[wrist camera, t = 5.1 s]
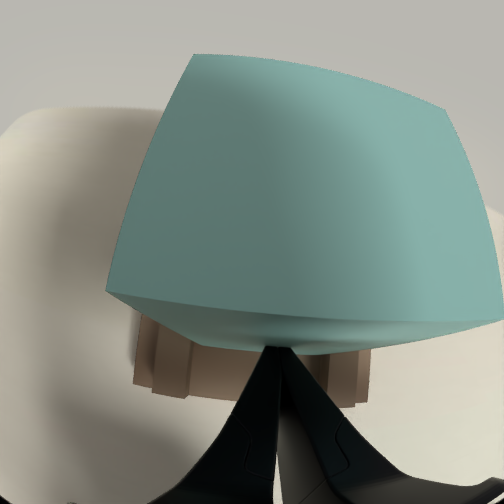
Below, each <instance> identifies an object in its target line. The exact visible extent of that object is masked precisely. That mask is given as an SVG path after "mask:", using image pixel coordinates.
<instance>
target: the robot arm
mask: <svg viewBox="0 0 504 504" xmlns="http://www.w3.org/2000/svg"><path fill="white" fill-rule="evenodd" d="M276 454H277V456H278V465H279V474H280V483H281V492H282V500H283V504H487V503H489V502H490V501H492V500H493V499H495V498H496V497H498V496H499V495H501V494H502V493H503V492H504V480H503V479H499V478H495V477H491V478H489V479H487V480H485V481H484V482H482V483H480V484H478V485H474V486H458V485H451V484H445V483H439V482H434V481H429V480H424V479H419V478H415V477H412V476H409V475H407V474H405V473H403V472H401V471H400V470H399V469H397V468H396V467H395V466H394V465H393V464H391V463H390V462H389V461H388V460H387V459H386V458H385V457H384V456H383V455H382V454H380V453H379V452H378V451H377V450H376V449H375V448H374V447H373V446H372V445H371V444H370V443H369V442H368V441H367V440H366V439H365V438H364V437H363V436H362V435H361V434H360V433H359V432H358V431H357V430H356V428H355V427H354V426H353V425H352V424H351V423H350V421H349V420H348V419H347V418H346V417H344V414H343V413H342V412H341V411H340V409H339V408H338V407H337V406H336V404H335V403H334V402H333V401H332V399H331V398H330V397H329V396H328V394H327V393H326V392H325V391H324V389H323V388H322V387H321V386H320V384H319V383H318V382H317V381H316V379H315V378H314V377H313V375H312V374H311V373H310V372H309V370H308V369H307V368H306V367H305V365H304V364H303V363H302V361H301V360H300V359H299V358H298V356H297V355H296V354H295V352H294V351H293V350H292V349H291V348H290V347H277V346H265V347H264V349H263V351H262V353H261V355H260V357H259V359H258V361H257V363H256V365H255V367H254V369H253V371H252V373H251V375H250V377H249V379H248V381H247V383H246V385H245V387H244V389H243V391H242V393H241V395H240V397H239V399H238V401H237V403H236V405H235V406H234V408H233V410H232V412H231V415H230V416H229V417H228V419H227V421H226V423H225V425H224V426H223V428H222V430H221V431H220V433H219V435H218V436H217V438H216V439H215V440H214V442H213V443H212V444H211V446H210V447H209V448H208V450H207V451H206V452H205V453H204V455H203V456H202V457H201V458H200V459H199V461H198V462H197V463H196V464H195V465H194V466H193V468H192V469H191V470H190V471H189V472H188V473H187V474H186V476H185V477H184V478H183V479H182V480H181V481H180V482H179V483H178V484H176V485H175V486H174V487H173V488H172V489H170V490H169V491H167V492H165V493H164V494H162V495H161V496H159V497H157V498H156V499H154V500H152V501H151V502H149V503H147V504H273V485H274V482H273V481H274V476H275V465H276ZM0 504H12V503H10V502H9V501H8V500H6V499H5V498H3V497H2V496H1V495H0ZM67 504H76V503H72V502H70V503H67ZM495 504H504V498H503V499H501V500H500V501H498V502H497V503H495Z"/></svg>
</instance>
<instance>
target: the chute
mask: <svg viewBox="0 0 504 504" xmlns="http://www.w3.org/2000/svg"><path fill="white" fill-rule="evenodd" d="M261 353H262V352H257V351H246V350H236V349H227V348H219V347H211V346H203V345H200V344H198V343H196V342H194V341H192V340H190V339H188V338H186V337H184V336H182V335H180V334H179V333H177V332H175V331H173V330H171V329H169V328H167V327H166V326H164V325H162V324H160V323H158V322H157V321H155V320H153V319H151V318H150V317H148V316H146V315H144V314H143V313H142V317H141V324H140V330H139V337H138V344H137V352H136V360H135V368H134V377H133V384H135V385H139V386H144V387H148V388H152V393H156V394H161V395H166V396H171V397H176V398H182V399H185V398H186V397H187V396H188V395H191V396H198V397H205V398H213V399H221V400H230V401H238V399H239V397H240V395H241V393H242V391H243V389H244V387H245V385H246V383H247V381H248V379H249V377H250V375H251V373H252V371H253V369H254V367H255V365H256V363H257V361H258V359H259V357H260V355H261ZM296 355H297V356H298V358H299V359H300V360H301V361H302V363H303V364H304V365H305V367H306V368H307V369H308V370H309V372H310V373H311V374H312V375H313V377H314V378H315V379H316V381H317V382H318V383H319V384H320V386H321V387H322V388H323V389H324V391H325V392H326V393H327V394H328V396H329V397H330V398H331V399H332V401H333V402H334V403H335V404H336V406H337V407H338V408H349V407H355V403H363V402H367V400H368V389H369V375H370V357H371V349H366V350H358V351H350V352H341V353H331V354H321V355H301V354H296Z"/></svg>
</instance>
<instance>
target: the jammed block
mask: <svg viewBox="0 0 504 504" xmlns="http://www.w3.org/2000/svg"><path fill="white" fill-rule="evenodd" d="M105 291H107V292H108V293H110V294H111V295H113V296H114V297H116V298H118V299H119V300H121V301H122V302H124V303H126V304H127V305H129V306H131V307H132V308H134V309H136V310H137V311H139V312H141V313H143V314H144V315H146V316H148V317H150V318H151V319H153V320H155V321H157V322H158V323H160V324H162V325H164V326H166V327H167V328H169V329H171V330H173V331H175V332H177V333H179V334H180V335H182V336H184V337H186V338H188V339H190V340H192V341H194V342H196V343H198V344H200V345H203V346H211V347H219V348H227V349H236V350H246V351H257V352H262V351H263V349H264V347H265V346H277V347H290V348H291V349H292V350H293V351H294V352H295V354H301V355H321V354H331V353H341V352H350V351H358V350H366V349H373V348H380V347H386V346H392V345H398V344H404V343H410V342H415V341H420V340H425V339H430V338H435V337H439V336H444V335H448V334H452V333H457V332H461V331H465V330H469V329H472V328H476V327H480V326H483V325H487V324H490V323H494V322H497V321H500V320H504V303H503V293H502V285H501V278H500V272H499V266H498V260H497V255H496V250H495V245H494V241H493V236H492V232H491V228H490V224H489V220H488V217H487V213H486V210H485V206H484V203H483V200H482V196H481V193H480V190H479V188H478V184H477V182H476V179H475V176H474V173H473V171H472V168H471V165H470V163H469V160H468V158H467V155H466V153H465V151H464V149H463V146H462V144H461V142H460V139H459V137H458V135H457V133H456V131H455V129H454V127H453V124H452V122H451V121H450V119H449V117H448V115H447V113H446V111H445V109H442V108H440V107H438V106H436V105H434V104H431V103H429V102H427V101H424V100H422V99H419V98H417V97H415V96H412V95H409V94H407V93H404V92H401V91H399V90H396V89H393V88H390V87H388V86H384V85H382V84H378V83H375V82H372V81H369V80H366V79H362V78H359V77H355V76H351V75H348V74H344V73H340V72H336V71H332V70H328V69H323V68H318V67H313V66H309V65H303V64H298V63H292V62H286V61H279V60H272V59H264V58H255V57H245V56H233V55H212V54H194V55H193V56H192V58H191V60H190V62H189V64H188V65H187V67H186V69H185V71H184V73H183V75H182V77H181V78H180V81H179V82H178V84H177V86H176V88H175V90H174V92H173V95H172V96H171V98H170V101H169V103H168V105H167V107H166V109H165V111H164V113H163V116H162V118H161V120H160V122H159V125H158V127H157V129H156V132H155V134H154V136H153V139H152V141H151V143H150V146H149V148H148V151H147V153H146V156H145V159H144V161H143V164H142V166H141V169H140V172H139V175H138V177H137V180H136V183H135V186H134V189H133V192H132V195H131V198H130V201H129V204H128V207H127V210H126V213H125V216H124V220H123V223H122V226H121V230H120V233H119V237H118V241H117V244H116V248H115V252H114V256H113V260H112V264H111V268H110V272H109V276H108V281H107V285H106V290H105Z"/></svg>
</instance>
